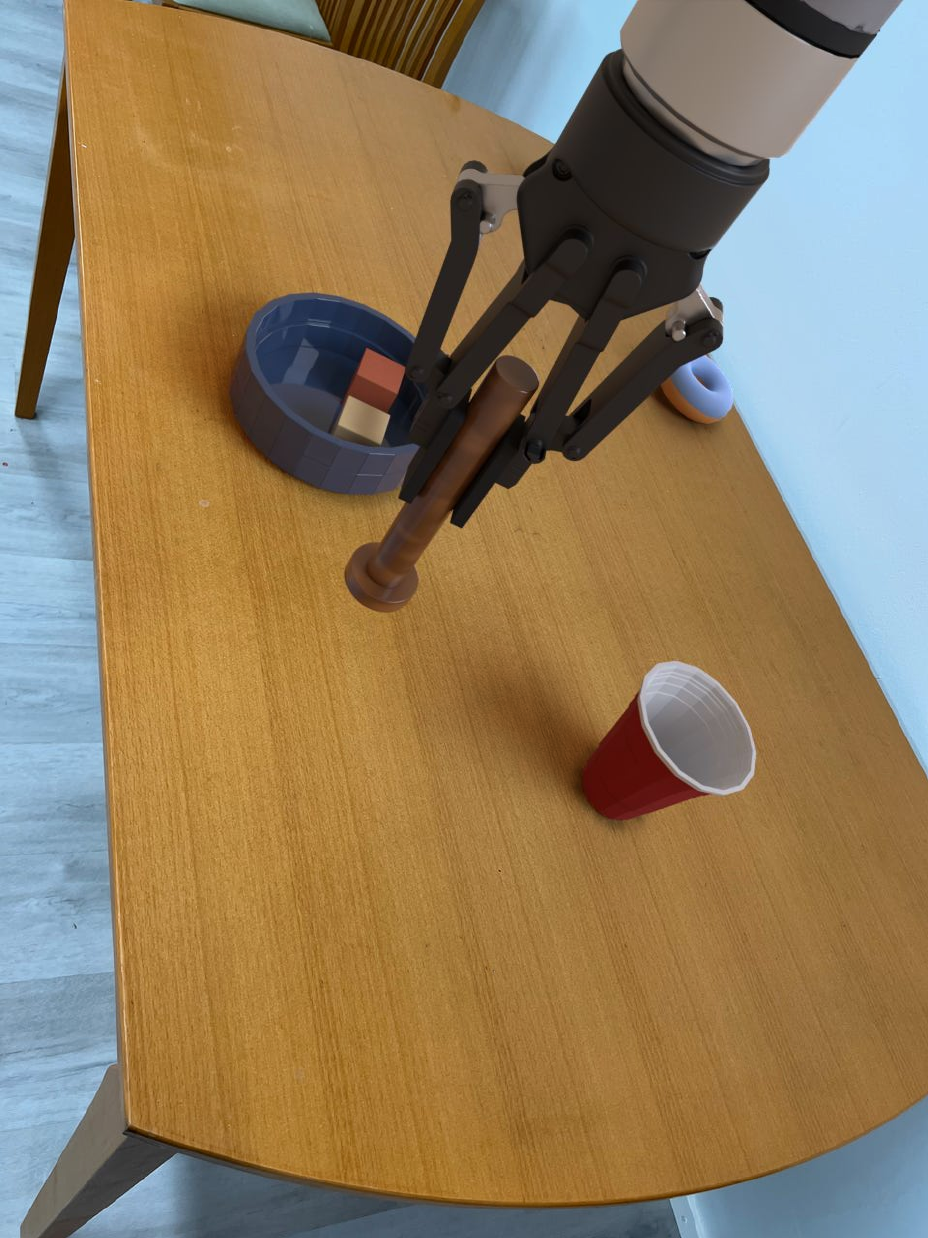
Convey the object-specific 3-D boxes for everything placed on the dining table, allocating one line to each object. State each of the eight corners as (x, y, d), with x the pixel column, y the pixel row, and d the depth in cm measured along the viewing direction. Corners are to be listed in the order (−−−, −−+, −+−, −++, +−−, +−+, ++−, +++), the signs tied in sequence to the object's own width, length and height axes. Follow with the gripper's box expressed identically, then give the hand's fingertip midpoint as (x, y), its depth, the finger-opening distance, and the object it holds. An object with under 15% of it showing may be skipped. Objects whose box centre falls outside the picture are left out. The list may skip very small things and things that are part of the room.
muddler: (335, 594, 57) (468, 379, 44) (353, 542, 60) (484, 324, 47) (402, 624, 58) (552, 422, 45) (417, 571, 61) (562, 367, 48)
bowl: (198, 438, 80) (215, 387, 76) (263, 312, 92) (281, 261, 87) (402, 531, 85) (430, 488, 80) (439, 399, 96) (465, 355, 92)
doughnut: (727, 405, 120) (751, 379, 117) (706, 444, 113) (730, 417, 110) (663, 355, 120) (686, 328, 116) (638, 391, 113) (661, 363, 110)
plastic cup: (685, 848, 80) (784, 790, 71) (577, 856, 74) (668, 795, 66) (645, 727, 85) (732, 660, 76) (541, 728, 80) (621, 655, 71)
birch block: (322, 454, 84) (337, 423, 81) (333, 425, 87) (348, 394, 84) (364, 474, 85) (381, 444, 82) (374, 444, 88) (390, 414, 85)
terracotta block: (341, 404, 89) (356, 373, 86) (351, 378, 91) (366, 347, 88) (381, 423, 90) (397, 393, 87) (390, 397, 92) (406, 367, 89)
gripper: (855, 163, 40) (564, 510, 57) (527, -49, 36) (322, 390, 54) (872, 257, 35) (549, 605, 52) (497, 25, 32) (283, 481, 49)
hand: (435, 496), depth 53 cm, fingers closed on muddler, 2 cm apart
